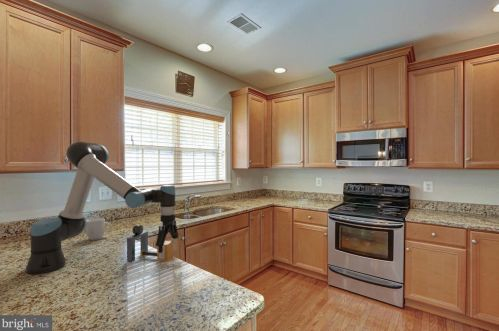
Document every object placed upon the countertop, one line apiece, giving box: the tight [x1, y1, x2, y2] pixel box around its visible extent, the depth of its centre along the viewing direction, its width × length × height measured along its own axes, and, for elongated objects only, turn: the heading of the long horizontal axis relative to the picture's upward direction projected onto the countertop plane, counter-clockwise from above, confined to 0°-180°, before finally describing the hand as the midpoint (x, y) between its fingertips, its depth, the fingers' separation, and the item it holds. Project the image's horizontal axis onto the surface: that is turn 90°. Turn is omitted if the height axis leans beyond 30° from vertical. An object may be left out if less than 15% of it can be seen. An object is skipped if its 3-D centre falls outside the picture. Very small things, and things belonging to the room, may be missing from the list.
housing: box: [126, 224, 149, 263], centre depth 135 cm, size 14×3×18 cm, turn 169°
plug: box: [140, 240, 174, 262], centre depth 133 cm, size 17×6×9 cm, turn 79°
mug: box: [85, 217, 112, 241], centre depth 169 cm, size 15×11×13 cm
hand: (167, 254), depth 132 cm, fingers open, 12 cm apart
